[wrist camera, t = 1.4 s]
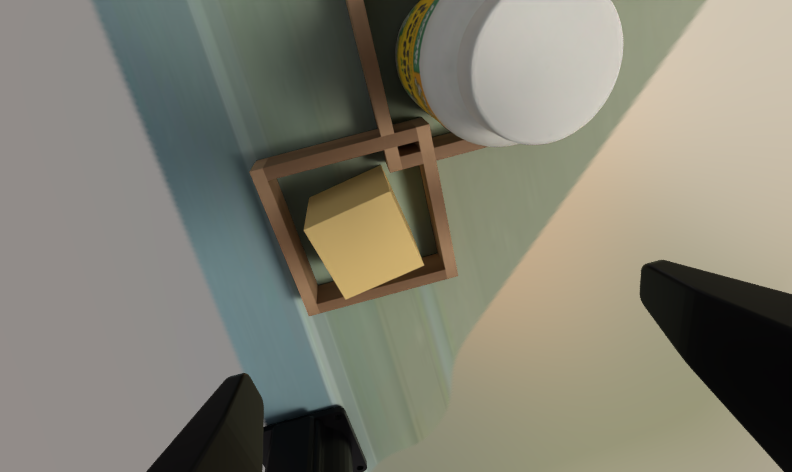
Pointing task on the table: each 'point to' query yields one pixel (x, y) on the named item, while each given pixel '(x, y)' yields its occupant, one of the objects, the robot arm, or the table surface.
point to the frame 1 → (398, 155)
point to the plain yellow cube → (361, 233)
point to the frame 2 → (337, 151)
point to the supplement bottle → (510, 66)
